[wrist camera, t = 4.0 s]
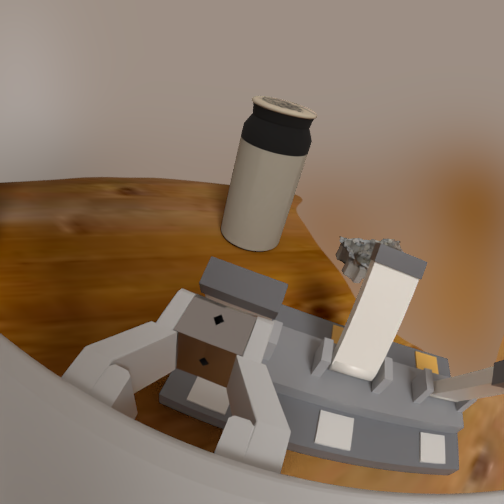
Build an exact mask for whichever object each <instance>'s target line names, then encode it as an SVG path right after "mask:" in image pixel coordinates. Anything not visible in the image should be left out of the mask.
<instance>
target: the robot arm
mask: <svg viewBox="0 0 504 504" xmlns="http://www.w3.org/2000/svg"><path fill="white" fill-rule="evenodd" d="M257 317H258V318H257ZM273 325H274V321H271V320H268V319H265V318H262V317H259V316H256V315H253V314H250V313H247V312H244V311H241V310H238V309H235V308H232V307H229V306H226V305H223V304H221V303H218V302H216V301H213V300H211V299H208V298H206V297H203V296H201V295H198V294H195V293H192V292H190V291H187V290H185V289H183V288H182V289H180V290H179V291H178V292H177V293H176V295H175V296H174V297H173V299H172V300H171V302H170V303H169V304H168V306H167V307H166V309H165V310H164V312H163V313H162V314H161V316H160V317H159V319H158V320H157V322H156V323H155V322H153V321H150V322H148V323H145V324H142V325H140V326H137V327H135V328H132V329H130V330H127V331H125V332H122V333H119V334H117V335H114V336H112V337H109V338H106V339H104V340H101V341H99V342H96V343H93V344H91V345H88V346H85V348H84V349H83V350H82V351H81V353H80V354H79V355H78V356H77V358H76V359H75V360H74V362H73V363H72V364H71V365H70V367H69V368H68V369H67V371H66V372H65V373H64V374H63V376H62V377H59V376H58V375H56V374H55V373H53V372H52V371H50V370H49V369H47V368H46V367H45V366H43V365H42V364H40V363H39V362H37V361H36V360H35V359H33V358H32V357H31V356H29V355H28V354H26V353H25V352H24V351H22V350H21V349H20V348H19V347H17V346H16V345H15V344H13V343H12V342H11V341H10V340H8V339H7V338H6V337H5V336H3V335H2V334H1V333H0V504H504V490H499V491H489V492H477V493H460V494H414V493H396V492H384V491H373V490H365V489H357V488H350V487H343V486H337V485H331V484H325V483H320V482H315V481H310V480H305V479H301V478H296V477H292V476H288V475H283V474H280V472H281V468H282V465H283V461H284V457H285V453H286V450H287V446H288V442H289V438H290V434H291V431H290V428H289V425H288V423H287V420H286V418H285V415H284V412H283V410H282V407H281V404H280V402H279V399H278V396H277V394H276V391H275V388H274V386H273V383H272V380H271V377H270V375H269V372H268V369H267V367H266V365H265V364H262V363H261V362H262V359H263V356H264V353H265V350H266V347H267V344H268V341H269V338H270V335H271V332H272V328H273ZM175 368H177V369H180V370H182V371H185V372H187V373H190V374H193V375H195V376H198V377H201V378H203V379H205V380H208V381H210V382H213V383H215V384H218V385H220V386H223V387H225V388H227V389H226V390H227V395H228V399H229V404H230V409H231V413H232V417H229V418H228V421H227V423H226V425H225V428H224V430H223V433H222V435H221V438H220V440H219V442H218V445H217V447H216V450H215V452H214V453H211V452H209V451H206V450H203V449H201V448H198V447H195V446H193V445H190V444H188V443H185V442H183V441H180V440H178V439H176V438H173V437H171V436H169V435H166V434H164V433H162V432H160V431H157V430H155V429H153V428H151V427H149V426H147V425H144V424H142V423H140V422H138V421H136V420H134V419H135V418H136V416H137V414H138V412H137V407H136V403H135V398H134V393H135V392H137V391H139V390H141V389H143V388H144V387H146V386H148V385H150V384H151V383H153V382H155V381H157V380H158V379H160V378H162V377H163V376H165V375H167V374H169V373H170V372H172V371H174V370H175Z"/></svg>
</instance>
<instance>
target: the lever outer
mask: <svg viewBox="0 0 504 504" xmlns="http://www.w3.org/2000/svg"><path fill="white" fill-rule="evenodd" d="M433 385H434V392H433V393H432V394H430V395H429V396H430V397H434V398H439V399H443V400H448V401H453V402H459V401H464V400H471V399H477V398H484V397H489V396H495V395H500V394H504V360H502V361H499V362H495V363H494V366H493V367H489V368H486V369H482V370H478V371H475V372H471V373H467V374H463V375H459V376H455V377H451V378H446V379H442V380H437V381H433Z"/></svg>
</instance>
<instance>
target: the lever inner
mask: <svg viewBox="0 0 504 504" xmlns="http://www.w3.org/2000/svg"><path fill="white" fill-rule="evenodd" d="M199 285H200V289H201V292H202V293H204V294H205V296H206V298H208V299H211V300H213V301H216V302H218V303H221V304H223V305H226V306H229V307H232V308H235V309H238V310H241V311H244V312H247V313H250V314H253V315H256V316H259V317H262V318H265V319H268V320H271V321H272V319H274V320H275V318H276V316H277V315H278V313H279V310H280V307H281V304H282V301H283V299H284V296H285V293H286V290H287V287H288V284H286V283H283V282H281V281H278V280H275V279H272V278H269V277H267V276H264V275H261V274H258V273H256V272H253V271H250V270H247V269H245V268H242V267H239V266H236V265H234V264H231V263H228V262H226V261H223V260H220V259H217V258H215V257H212V256H211V259H210V261H209V263H208V265H207V267H206V269H205V271H204V274H203V276H202V278H201V280H200V282H199ZM257 318H258V317H257Z"/></svg>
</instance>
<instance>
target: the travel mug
mask: <svg viewBox="0 0 504 504" xmlns="http://www.w3.org/2000/svg"><path fill="white" fill-rule="evenodd" d="M252 101H253V103H254V106H253V114H252V115H251V116H250V117H249V118H248V119H247V120H246V122H245V123H244V126H243V130H242V134H241V139H240V143H239V148H238V152H237V156H236V161H235V165H234V169H233V174H232V179H231V183H230V188H229V192H228V197H227V202H226V206H225V211H224V216H223V221H222V225H221V231H222V234H223V235H224V237H225V238H226V239H227V240H228V241H229V242H231V243H232V244H234V245H236V246H238V247H241V248H243V249H247V250H252V251H266V250H270V249H273V248H274V247H276V246H277V244H278V243H279V240H280V237H281V234H282V231H283V228H284V225H285V222H286V219H287V216H288V213H289V210H290V207H291V204H292V201H293V197H294V194H295V191H296V188H297V185H298V182H299V179H300V176H301V172H302V170H303V167H304V163H305V160H306V157H307V154H308V151H309V148H310V145H311V136H310V130H309V128H310V126H311V123H312V121H313V120H314V119H315V118H317V114H316V113H315V112H314V111H312V110H311V109H309V108H306V107H304V106H301V105H299V104H296V103H293V102H289V101H286V100H282V99H278V98H272V97H266V96H255V97H253V98H252Z"/></svg>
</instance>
